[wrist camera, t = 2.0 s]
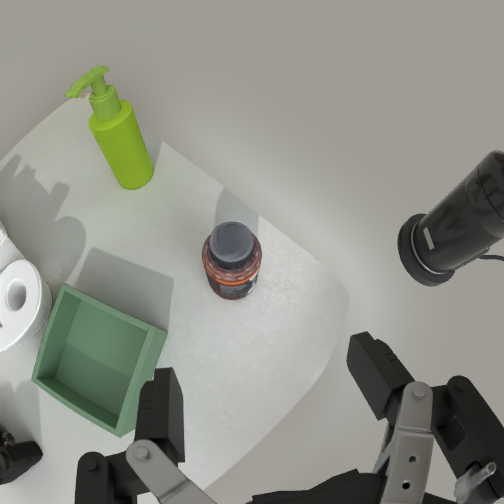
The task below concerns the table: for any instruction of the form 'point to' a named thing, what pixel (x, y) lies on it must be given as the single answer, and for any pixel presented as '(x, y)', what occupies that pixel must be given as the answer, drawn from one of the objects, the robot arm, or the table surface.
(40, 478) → the table surface
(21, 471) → the film camera
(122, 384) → the green square tray
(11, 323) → the white letter sculpture
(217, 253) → the supplement bottle
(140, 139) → the soap dispenser
